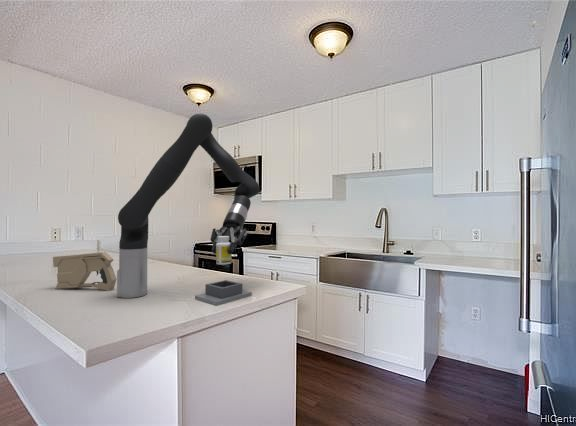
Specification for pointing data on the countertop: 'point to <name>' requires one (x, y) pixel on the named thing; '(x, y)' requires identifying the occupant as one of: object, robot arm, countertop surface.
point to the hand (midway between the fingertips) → (221, 252)
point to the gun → (84, 270)
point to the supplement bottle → (223, 251)
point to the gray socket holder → (222, 292)
